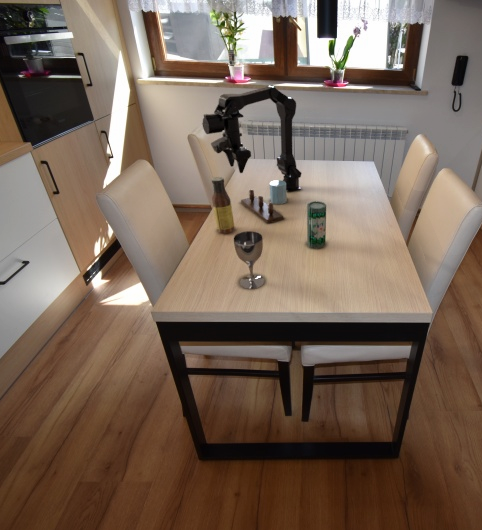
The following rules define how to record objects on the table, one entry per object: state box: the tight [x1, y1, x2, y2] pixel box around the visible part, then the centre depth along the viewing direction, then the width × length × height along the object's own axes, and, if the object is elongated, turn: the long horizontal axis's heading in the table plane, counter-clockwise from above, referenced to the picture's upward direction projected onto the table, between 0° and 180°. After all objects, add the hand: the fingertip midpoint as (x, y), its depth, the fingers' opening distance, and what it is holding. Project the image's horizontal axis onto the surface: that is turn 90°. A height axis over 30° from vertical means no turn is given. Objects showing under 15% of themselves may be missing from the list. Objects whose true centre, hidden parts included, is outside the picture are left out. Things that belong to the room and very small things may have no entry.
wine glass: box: [233, 230, 265, 290], centre depth 112 cm, size 8×8×15 cm
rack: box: [240, 188, 284, 224], centre depth 156 cm, size 7×23×6 cm, turn 37°
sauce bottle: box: [211, 176, 235, 234], centre depth 138 cm, size 7×6×20 cm
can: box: [306, 200, 327, 250], centre depth 133 cm, size 6×6×15 cm
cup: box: [269, 179, 288, 205], centre depth 165 cm, size 7×7×8 cm
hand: (236, 169), depth 157 cm, fingers open, 9 cm apart
